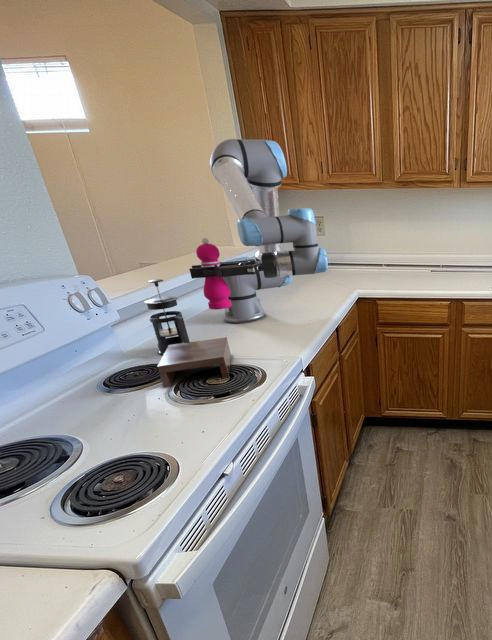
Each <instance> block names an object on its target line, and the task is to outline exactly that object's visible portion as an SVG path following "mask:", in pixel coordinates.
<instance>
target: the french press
mask: <svg viewBox="0 0 492 640" xmlns="http://www.w3.org/2000/svg"><path fill="white" fill-rule="evenodd" d="M162 282H164V279H160V278H156V279H151V280H148V281H147V283H148V284H153V285H154V286H155V288H156V290H157V293H158V297H153V298H149V299H146V300H144V304H146V306H147V309H148V310H149V311H150V310H153V311H156V310H157V311H158V310H162V311H160V312H157V313H154V314H151V315H149V318H148V319H149V321H150V323H151V324H152V327H153V330H154V334H155V337H156V340H157V342H156V343H157V347H158V350H159V351H158V353H159V355H161V356H163V355H164V353H165V351H166V349H167V347H168V345H173V344H181V343H188V342H190V339H189V335H188V331H187V328H186V327H187V326H186V324H185V320H184V317H183V313H182V311H179V310H169V311H166V309H171V308H174V307H176V306H178V302H177V300H178V297H177V296H172V295H169V296H161V293H160V292H161V291H160V288H159V283H162ZM167 316H168V317H167ZM169 316H170V317H169ZM161 317H163V318H161ZM170 322H174V325H175V327H170ZM162 323H163V324H164V323H166V324H167V328H164V327H163V324H162Z"/></svg>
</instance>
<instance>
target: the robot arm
mask: <svg viewBox="0 0 492 640" xmlns="http://www.w3.org/2000/svg"><path fill="white" fill-rule="evenodd" d="M209 166H210V171H211V173H212V175H213V177H214V179H215V180H216V181H217V182H218V184H220V185H221V187H222V188H223V190H224V191H225V194H226V196H227V198H228V199H229V201H230V204H231V205H232V207H233V209H234V210H235V213H236V215H237V217H238V220H237V223H236V226H237V227H236V229H237V233H238V237H239V240H240V242H241V244H242V245H243V246H245V247H258V251H257V252H255V255H254V256H255V259H254V258H249V257H248V256H242V257H235V258H230V259H227V260H224V261H220V262H219V264H220V266H219V267H217V265H214V267H201V266H202V265H201V264H193V265H191V268H189V273H190V277H191V279H202V278H203V279H204V278H205V277H215V276H218V277H223V279H224V281H225V282H226V283H227V285H228V287H229V289H230V296H229V297H228V299H230V301H231V307H228V308H225V309H224V314H223V315H224V317H223V318H224V320H225V322H226V323H230V324H244V323H251V322H256V321H259V320H261V319H263V318H265V317H266V312H265V309H264V308H263V306H262V304H261V302H260V300H259V299H258V296H257V291H261V290H267V289H273V288H281V287H285V286H288V285H289V284H291V282H292V279H293V276H304V275H316V274H321V273H325V272H327V271H328V268H329V263H328V262H329V261H328V256H327V255H328V254H327V252H326V249H325V248H323V247H319V242H318V235H317V223H316V218H315V214H314V211H313V209H312V208H310V207H297V208H296V207H295V208H289V209H288V210H287V215H280V205H279V191H278V190H279V188H280V187H281V186H282V184H283V183H282V179H285V178H286V177H287V173H288V168H287V167H288V166H287V162H286V158H285V155H284V152H283V150H282V148H281V146H280V145H279V143H278V142H276V141H275V140H267V139H263V138H262V139H246V138H245V139H241V138H240V139H237V138H230V139H225V140H223V141H221V142H220V143H218V144H217V145H216V146H215V148H214V149H213V151H212V152H211V155H210V159H209ZM287 243H288V244H290V243H292V248H293V249H292V250H283V249H282V244H287Z"/></svg>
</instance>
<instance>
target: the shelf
mask: <svg viewBox="0 0 492 640" xmlns="http://www.w3.org/2000/svg"><path fill="white" fill-rule="evenodd" d="M231 359H232V353H231V349H230V345H229V341H228V337H220V338H219V337H218V338H211V339H205V340H196V341H189V342H188V343H181V344H173V345H168V347H167V349H166V351H165V353H164V355H162V357H161V359H160V360H159V362H158V364H157V366H156V368H157V371H158V374H159V377H160V380H161V382H162V387H163V388H168V387H171V386H172V383H173V381H174V378H175V376H176V373H177V372H179V371H185V370H193V369H199V368H205V367H211V366H212V367H213V366H217V365H218V366H219V369H220V374H221V378H222V379H225V378H229V376H230V368H231ZM228 366H229V368H228ZM227 373H228V374H227Z"/></svg>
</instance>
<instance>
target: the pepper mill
mask: <svg viewBox="0 0 492 640" xmlns="http://www.w3.org/2000/svg"><path fill="white" fill-rule="evenodd" d="M220 253H221V252H220V249H219V248H218V247H217V246H216V245H215V244H212V243H209V239H208V238H206V237H204V238H201V244H200V245H198V246H197V248H196V250H195V254H196V257H197V258H198V259H199V260H200V265H202V266H201V267H214V265H217V267H219V266H220V264H219V262H221V261H220V260H219V258H220V256H221V254H220ZM204 278H205V279H204V284H203V296H204V297H205V298H206V299H207V300H208V302H207V305H208V308H209V309H210V310H212V311H213V310H214V311H215V310H223V309H224V310H225V308H228V307H231V301H230V299H228V297H229V296H230V289H229V287H228V285H227V283H226V282H225V281H224V279H223V277H218V276H215V277H204Z"/></svg>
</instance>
